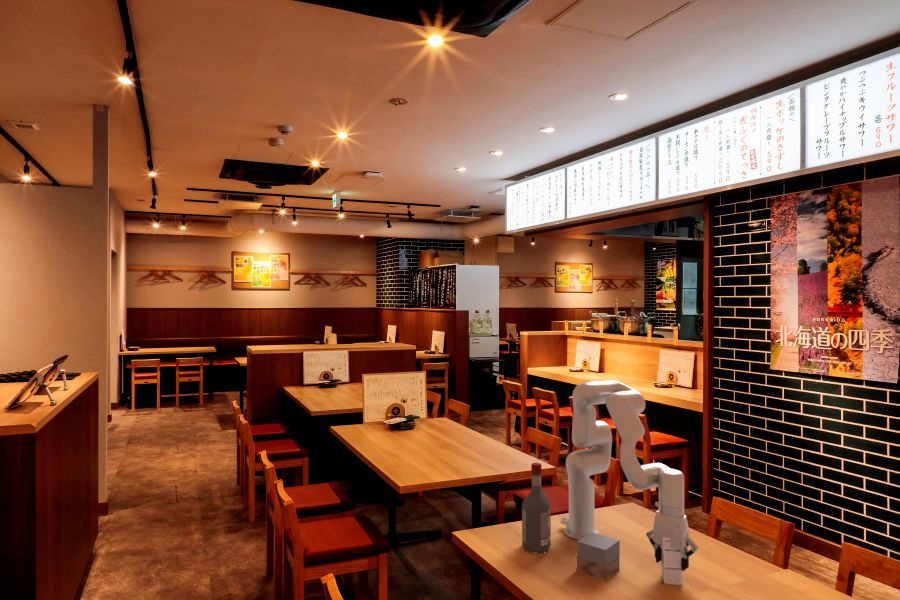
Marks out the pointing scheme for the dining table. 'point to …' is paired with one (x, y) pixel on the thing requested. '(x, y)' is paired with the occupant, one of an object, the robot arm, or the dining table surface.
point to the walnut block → (598, 568)
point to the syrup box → (671, 564)
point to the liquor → (536, 516)
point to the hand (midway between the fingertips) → (671, 564)
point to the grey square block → (598, 548)
